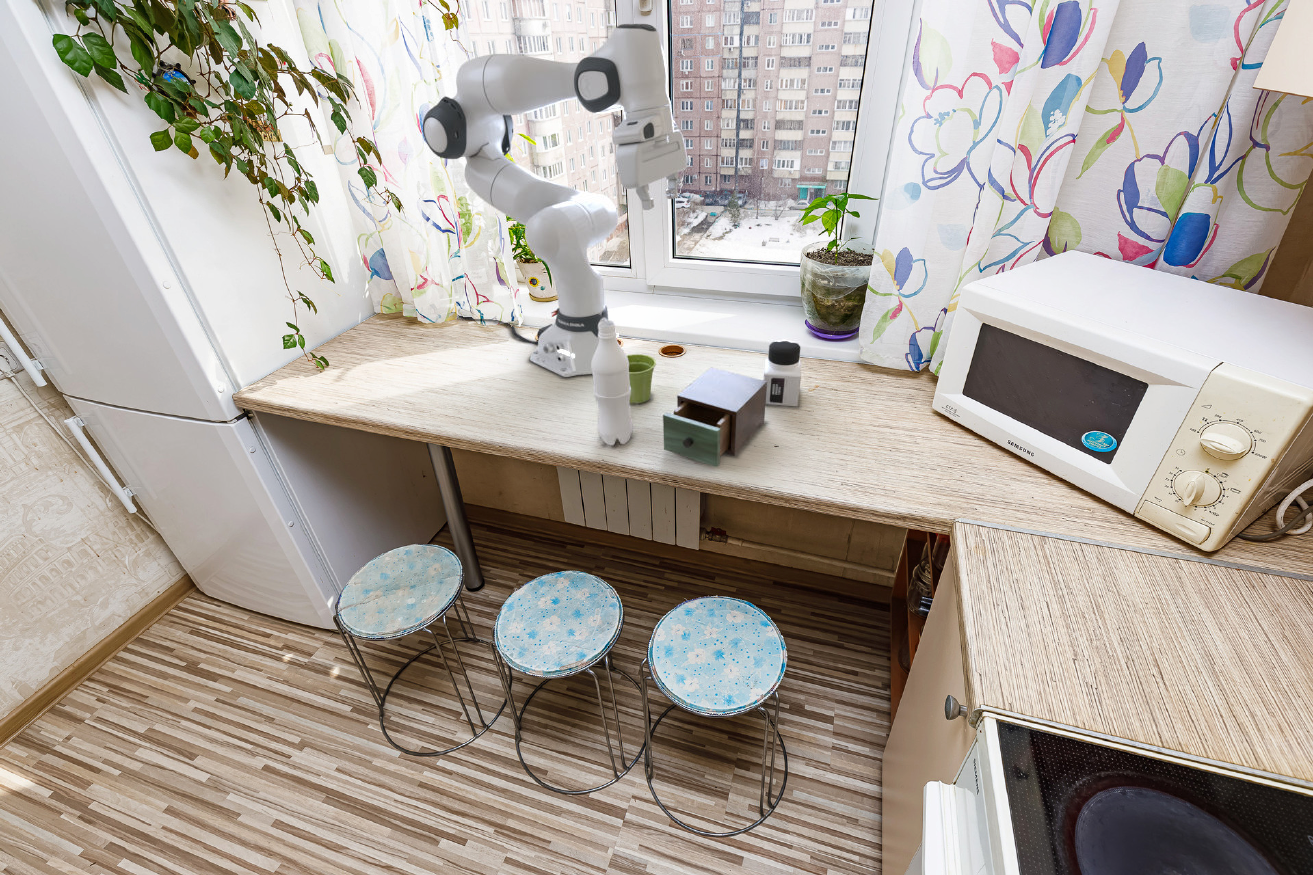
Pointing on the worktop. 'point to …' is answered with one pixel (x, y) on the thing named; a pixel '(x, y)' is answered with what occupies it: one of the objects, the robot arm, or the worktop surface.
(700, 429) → the drawer
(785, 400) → the container
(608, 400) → the water bottle
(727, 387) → the cabinet
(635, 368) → the plant pot
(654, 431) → the worktop surface
